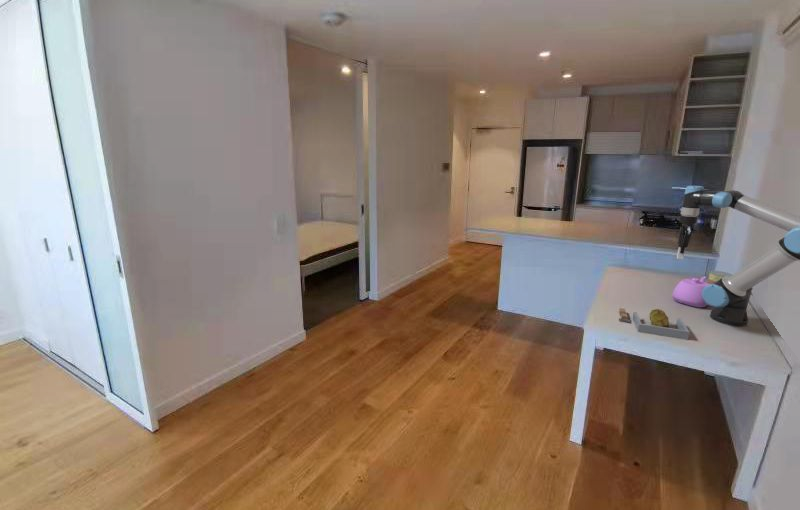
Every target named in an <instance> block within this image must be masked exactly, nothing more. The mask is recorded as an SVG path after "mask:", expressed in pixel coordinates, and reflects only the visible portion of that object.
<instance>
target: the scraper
mask: <svg viewBox="0 0 800 510" xmlns="http://www.w3.org/2000/svg"><path fill="white" fill-rule="evenodd" d="M618 313H619V316H620V317H619V318H618V321H619V322H620V323H626V324H631V320H630V319H628V314H627V311H626V308H622V307H621V308H619V311H618Z"/></svg>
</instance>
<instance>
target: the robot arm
mask: <svg viewBox="0 0 800 510" xmlns="http://www.w3.org/2000/svg"><path fill="white" fill-rule="evenodd" d="M701 206H703V207H713V208H717V209H719V208H723V209H726V208H728V207H729V208H730V209H733V210H736V211H739V212H740V213H743V214H745V215H748V216H751V217H753V218H756V219H758V220H760V221H762V222H765V223H767V224H770V225H772V226H775V227H777V228H778V229H781V230H784V231H786V232H787V233H786V234H785V235H784V237H782V238H781V239H779V240H778V241H777V246H775V247H774V248H772V249H771V250H769V251H768V252H766V253H765V254H763V255H762V256H760V257H759V258H757V259H756V260H754V261H752V262H750V263H749V264H748V265H746V266H744V267H743V268H741V269H740V270H738V271H737V272H735V273H734V274H732V276H725V277H723V278H721V279H720V280H718V281H716V282H715V283H713V284H709V285H707V286H705V287H704V288H703V290H702V298H703V300H704V301H705V302H706V303H707V304H708V305H707V306H709V307H713V308H712V310H710V314H709V317H710V318H711V319H712V320H714V321H715V322H718V323H721V324H725V325H729V326H735V327H745V326H748V322H749V316H748V311H747V309H748V305H749V301H750V298H751V295H752V291H753V289H754V288H753V287H754V286H756V285H759V283H761V282H763V281H765V280H766V279H768V278H769V277H771V276H773V275H774V274H777V273H778V272H780V271H782V270H784V269H785V268H787V267H788V266H790V265H791V264H793V263H795V262H797V261H799V262H800V215H798V214H795V213H792V212H790V211H787V210H784V209H782V208H779V207H778V206H777V207H776V206H774V205H771V204H768V203H766V202H763V201H760V200H757V199H755V198H753V197H751V196H747V195H744V194H743V193H742V192H741V191H739V190H735V189H733V190H720V191H719V190H718V191H715V190H713V191H712V190H711V191H710V190H705V187H704V186H702V185H687V186H686V188H685V191H684V194H683V200H682V206H681V208H680V209H679V210H680V215H679V218H678V219H679V220H678V222H679V223H681V226H680V227H679V234H678V241H677V244H678V245H677V246H678V249H677V254H676V259H677V260H683V259H684V257H685V254H686V253H685V252H686V249H687V248H688V246H689V243H690V241H691V237H692V233H693V227H692V225H696V224H697V222H698V218H699V217H698V216H699V214H700V208H701Z"/></svg>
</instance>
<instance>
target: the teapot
mask: <svg viewBox="0 0 800 510" xmlns="http://www.w3.org/2000/svg"><path fill="white" fill-rule="evenodd" d="M706 279H707V277H706V276H705V275H704V276H703V275H702V277H700V279H699V278H696V277H693V278H684V279H682V280H680V281H679V282H678V283H677V285H676V286H675V288H674V290H673V291H672V298H673V300H674V301H675V302H678V303H679V304H684V305H687V306H692V307H694V308H704V307H707V306H709V305H708V304H707V303H706V302H705V301H704V300H703V298H702V290H703V288H704V287H705V286H707V285H709V284H708V283H707V282H706Z"/></svg>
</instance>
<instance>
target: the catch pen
mask: <svg viewBox="0 0 800 510" xmlns="http://www.w3.org/2000/svg"><path fill="white" fill-rule="evenodd" d="M632 321H633V323H634V325H635V328H636V331H637V333H645V334H649V335H657V336H662V337H666V338H674V339H681V340H686V341H689V336H690V334H691V331H690V330H689V329H688V327H687V326H686V325H685V323H684V322H683V319H682V318H680V317H677V319H676V323H675V326H676V327H677V328H671V327H669V328H666V327H660V326H653V325H652V324H646V323H642V321H641V319H640V317H639V315H638V313H637V311H633V314H632Z"/></svg>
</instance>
